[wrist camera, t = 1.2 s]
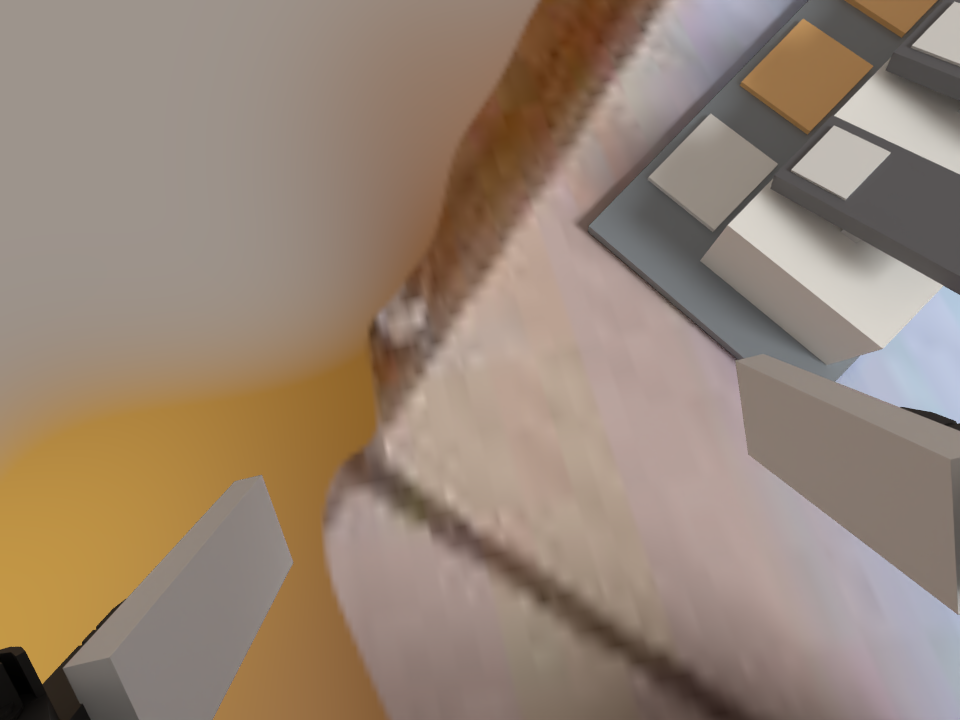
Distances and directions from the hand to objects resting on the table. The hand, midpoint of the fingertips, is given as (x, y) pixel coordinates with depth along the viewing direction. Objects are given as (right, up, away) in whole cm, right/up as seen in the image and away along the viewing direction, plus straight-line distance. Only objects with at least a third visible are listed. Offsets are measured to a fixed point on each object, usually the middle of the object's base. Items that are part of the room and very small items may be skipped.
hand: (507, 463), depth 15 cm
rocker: (+20, +11, +12) cm, 25 cm away
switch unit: (+25, +18, +22) cm, 38 cm away
